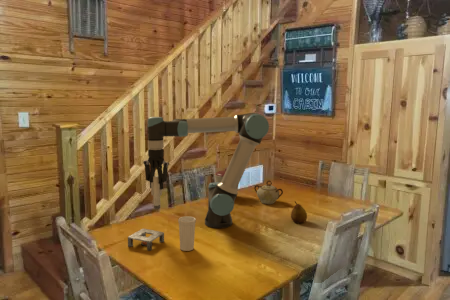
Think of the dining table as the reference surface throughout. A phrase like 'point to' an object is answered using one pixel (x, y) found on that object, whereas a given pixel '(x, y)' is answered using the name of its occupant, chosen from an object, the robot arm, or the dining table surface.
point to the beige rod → (156, 192)
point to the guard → (142, 237)
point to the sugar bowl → (268, 193)
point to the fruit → (298, 214)
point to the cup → (187, 232)
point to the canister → (220, 176)
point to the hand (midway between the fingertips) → (156, 195)
